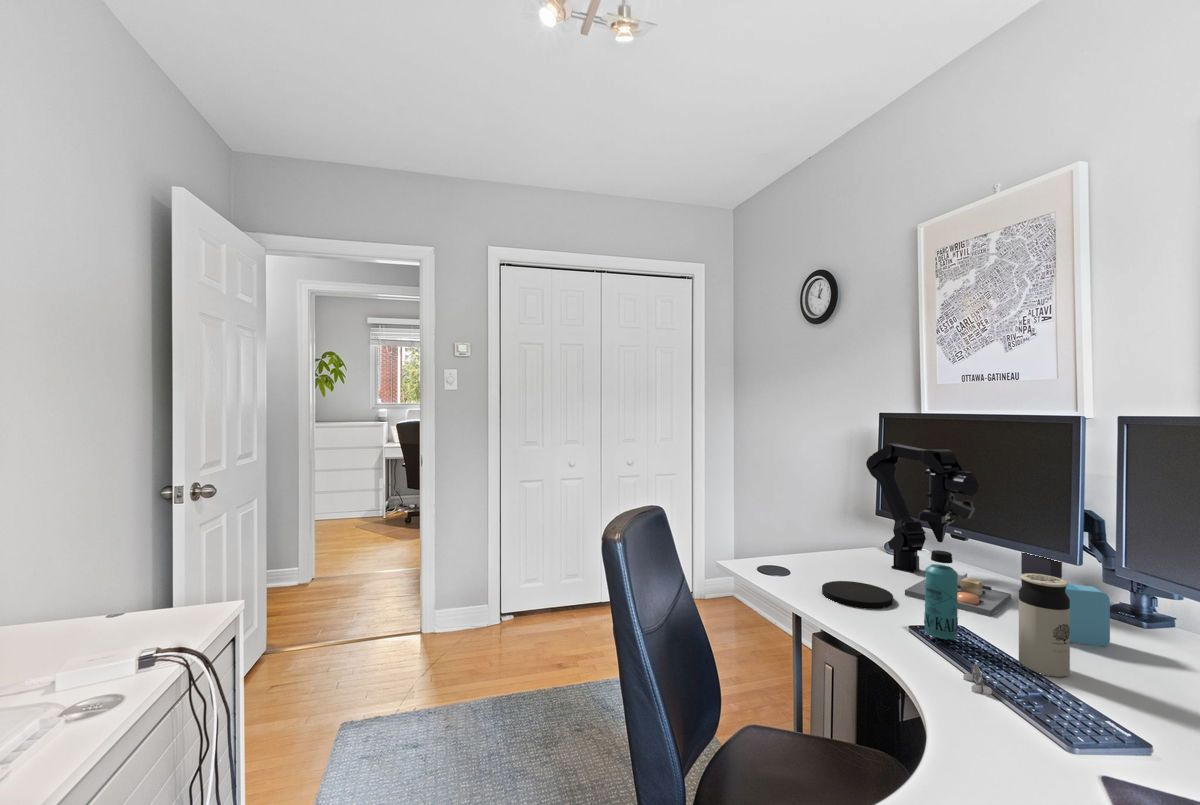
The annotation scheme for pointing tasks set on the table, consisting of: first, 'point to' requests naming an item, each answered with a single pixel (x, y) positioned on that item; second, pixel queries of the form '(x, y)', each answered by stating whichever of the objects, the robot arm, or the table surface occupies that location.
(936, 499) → the robot arm
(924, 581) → the grey railed board
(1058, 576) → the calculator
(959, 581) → the white cube
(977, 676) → the grey lobed figure
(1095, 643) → the data package
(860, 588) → the wireless charger
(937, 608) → the beverage bottle
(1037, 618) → the travel mug
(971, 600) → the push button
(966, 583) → the beech slider
